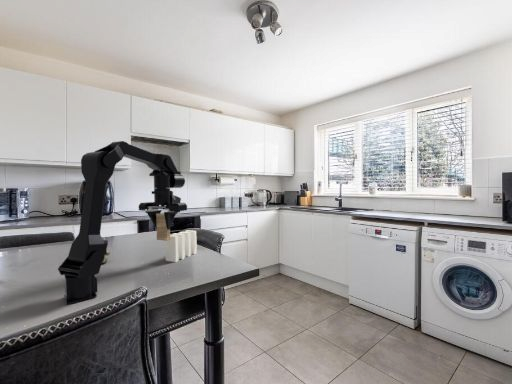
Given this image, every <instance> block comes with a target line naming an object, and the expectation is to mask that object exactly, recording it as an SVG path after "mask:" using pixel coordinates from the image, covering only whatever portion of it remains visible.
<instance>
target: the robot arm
mask: <svg viewBox="0 0 512 384" xmlns="http://www.w3.org/2000/svg"><path fill="white" fill-rule="evenodd" d="M124 158H127V159H129V160H133V161H136V162H139V163H143V164H144V165H146V166H147V167H148V168H149V169H151V170H152V171H151V172H150V173H149V174H148V176H149V177H153V190H152V191H151V195H154V196H153V198H154V201H153V202H152V201H148V202H146V201H145V202H140V203H139V205H138V211H145V212H144V213H146V214H147V216H148V217H149V218H150V220H151V221H152V223H153V226H154V228H155V229H156V230H157V225H156V214H158V213H162V211H163V210H167V211H164V212H163V213H164V216H165V221H166V227H167V230H170V231H171V227H172V225H173V222H174V219H175V217H176V215H178V213H180V212H184V211H188V205H187V203H186V202H182V198H181V197H179V196H178V195H174V191H173V190H171V189H181V188H183V187H184V186H185V183H186V180H185V177H184V175H182V172H181V171H179V170H178V169H177V167H176V165H175V163H174V161H173V159H172V156H170V155H169V154H163V153H153V152H150V151H148V150H146V149H143V148H140V147H138V146H135V145H133V144H131V143H128V142H127V141H123V140H119V141H112V142H110V144H108V145H106V146H103V147H101V148H99V149H97V150H95V151H92V152H86V153H85V154H83V155H82V156H81V160H80V163H81V164H80V167H81V174H82V176H83V178H84V180H85V181H84V182H85V187H84V193H83V194H84V195H83V200H82V201H83V202H82V209H81V218H80V222H79V223H80V226H79V232H78V235H77V236H76V237H75V238H74V240H73V241H72V243H71V245H70V248H69V253H68V256H67V257H66V258H65V259H64V261H63V262H62V263H61V264H60V265H59V266H58V268H57V270H58V272H59V274H60V276H64V295H63V298H64V301H65V303H66V305H70V304H71V305H72V304H75V303H78V302H79V303H80V302H82V301H86V300H89V299H90V300H91V299H93V298H96V297H97V296H98V295H97V293H98V292H99V291H98V277H97V276H96V275H98V274H99V273H100V270H101V266H102V265H103V264H102V262H103V260H104V258H105V255H107V251H108V250H107V249H108V244H109V240H107V239H103V238H102V235H101V230H102V229H101V228H102V221H103V212H104V203H105V197H106V196H105V195H106V187H107V183H108V182H109V180H110V179H111V178H112V176H113V175H114V172H115V168H116V165H117V164H118V163H119V162H121V161H122V160H123V159H124ZM80 267H81V268H80Z"/></svg>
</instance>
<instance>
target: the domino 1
mask: <svg viewBox="0 0 512 384" xmlns="http://www.w3.org/2000/svg"><path fill="white" fill-rule="evenodd" d="M156 225H157V229H156V240H157V241H164V242H165V241H168V240H170V235H171V229H170V230H167V227H166V221H165V216H164V212H163V213H162V212H161V213H158V214H156Z"/></svg>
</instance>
